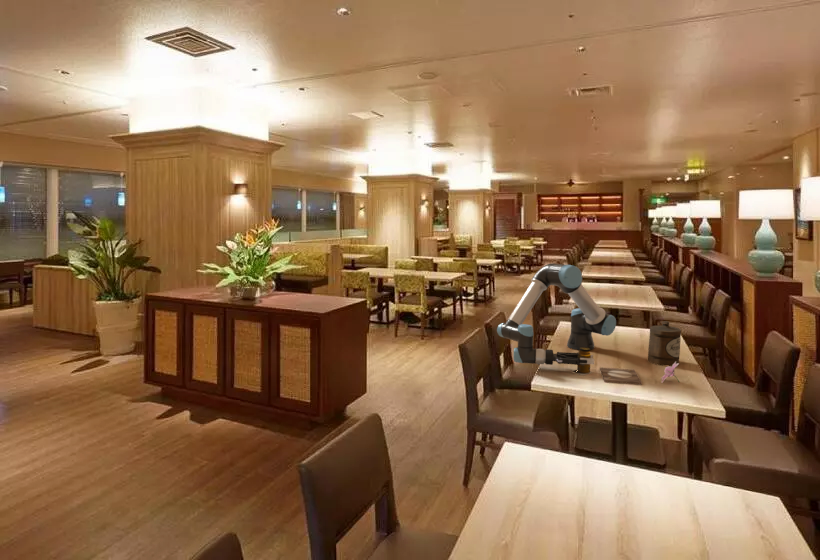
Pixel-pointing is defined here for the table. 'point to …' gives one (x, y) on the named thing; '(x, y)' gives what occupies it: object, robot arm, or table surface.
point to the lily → (669, 372)
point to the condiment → (583, 368)
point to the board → (620, 375)
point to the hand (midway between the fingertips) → (593, 359)
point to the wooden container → (664, 344)
